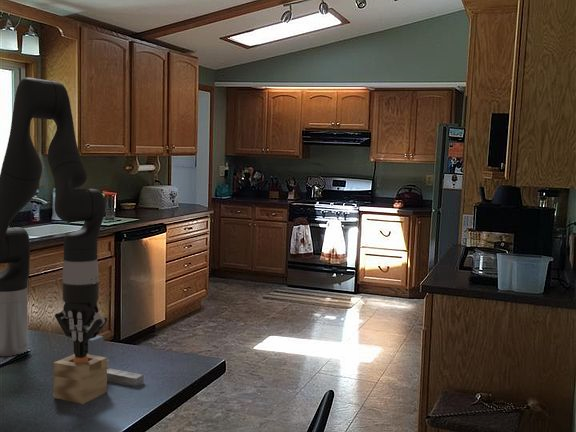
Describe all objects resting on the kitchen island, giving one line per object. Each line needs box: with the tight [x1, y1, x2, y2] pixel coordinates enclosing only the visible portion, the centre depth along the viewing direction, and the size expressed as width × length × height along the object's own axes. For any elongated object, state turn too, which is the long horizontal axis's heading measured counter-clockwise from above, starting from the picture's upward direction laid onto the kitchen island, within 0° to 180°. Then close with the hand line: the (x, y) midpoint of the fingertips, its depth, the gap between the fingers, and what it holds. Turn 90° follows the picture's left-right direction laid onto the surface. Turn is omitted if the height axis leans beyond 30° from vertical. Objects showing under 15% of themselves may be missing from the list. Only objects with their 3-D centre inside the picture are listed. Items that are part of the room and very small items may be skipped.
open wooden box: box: [53, 354, 108, 405], centre depth 145 cm, size 8×8×8 cm
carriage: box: [88, 334, 110, 368], centre depth 158 cm, size 6×6×9 cm
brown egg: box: [74, 355, 88, 364], centre depth 145 cm, size 3×3×3 cm
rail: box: [107, 367, 145, 388], centre depth 156 cm, size 18×3×2 cm, turn 68°
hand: (80, 356), depth 145 cm, fingers closed
